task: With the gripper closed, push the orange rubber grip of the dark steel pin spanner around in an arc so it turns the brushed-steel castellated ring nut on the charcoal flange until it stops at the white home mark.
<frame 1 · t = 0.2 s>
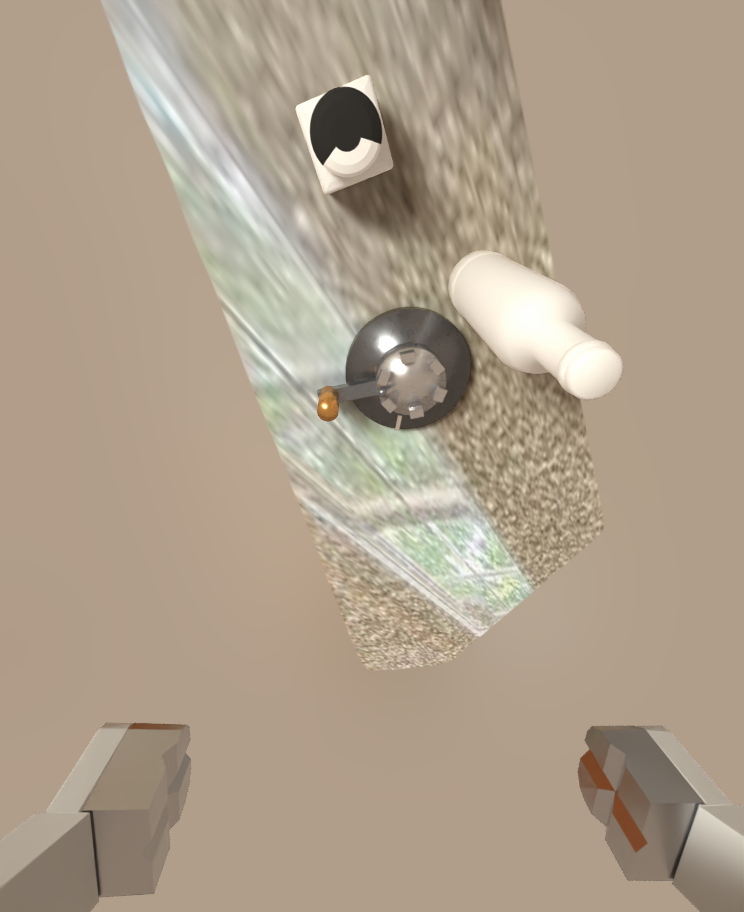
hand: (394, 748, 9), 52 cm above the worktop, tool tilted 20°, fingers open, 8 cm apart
medicine bottle: (346, 143, 45), on the worktop
bottle: (478, 283, 53), on the worktop
flange: (407, 369, 59), on the worktop
ring nut: (382, 390, 55), point 5 cm above the worktop, hinge at 0.0°
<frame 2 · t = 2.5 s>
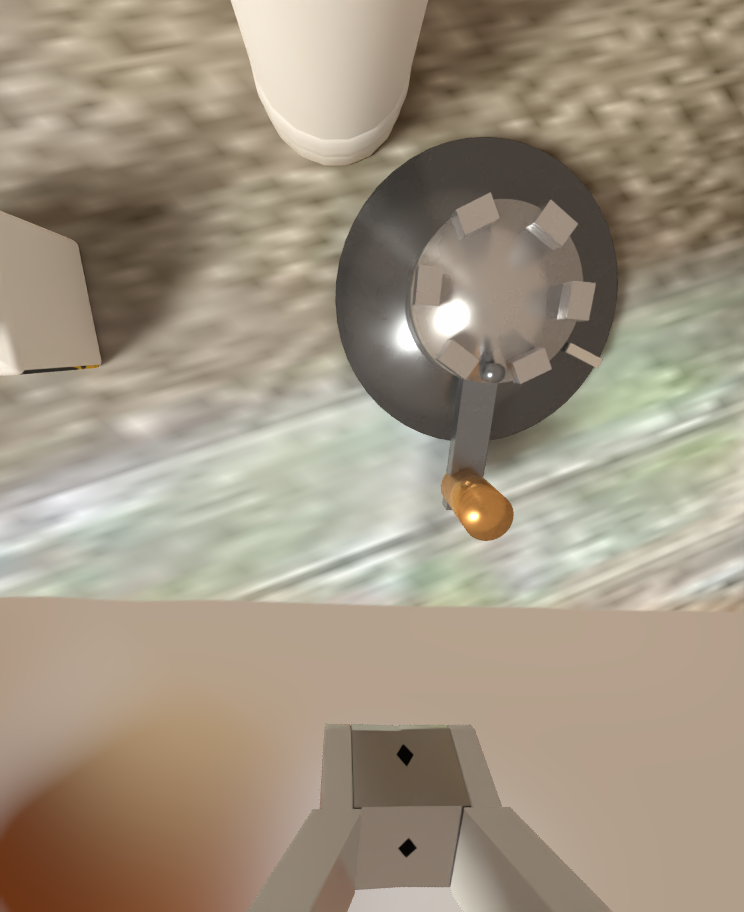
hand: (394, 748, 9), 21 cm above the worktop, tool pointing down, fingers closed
medicine bottle: (32, 308, 25), on the worktop
bottle: (332, 89, 24), on the worktop
flange: (471, 304, 27), on the worktop
ring nut: (488, 372, 23), point 5 cm above the worktop, hinge at 0.0°
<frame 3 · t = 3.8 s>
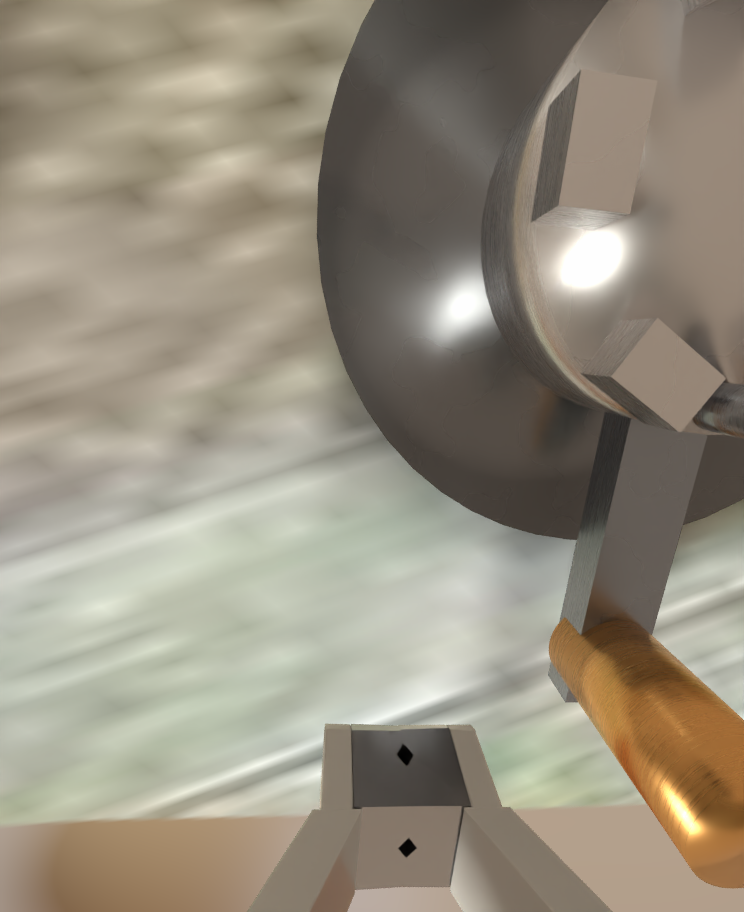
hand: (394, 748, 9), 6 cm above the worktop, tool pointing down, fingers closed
flange: (610, 251, 12), on the worktop
ring nut: (718, 407, 9), point 5 cm above the worktop, hinge at 0.0°
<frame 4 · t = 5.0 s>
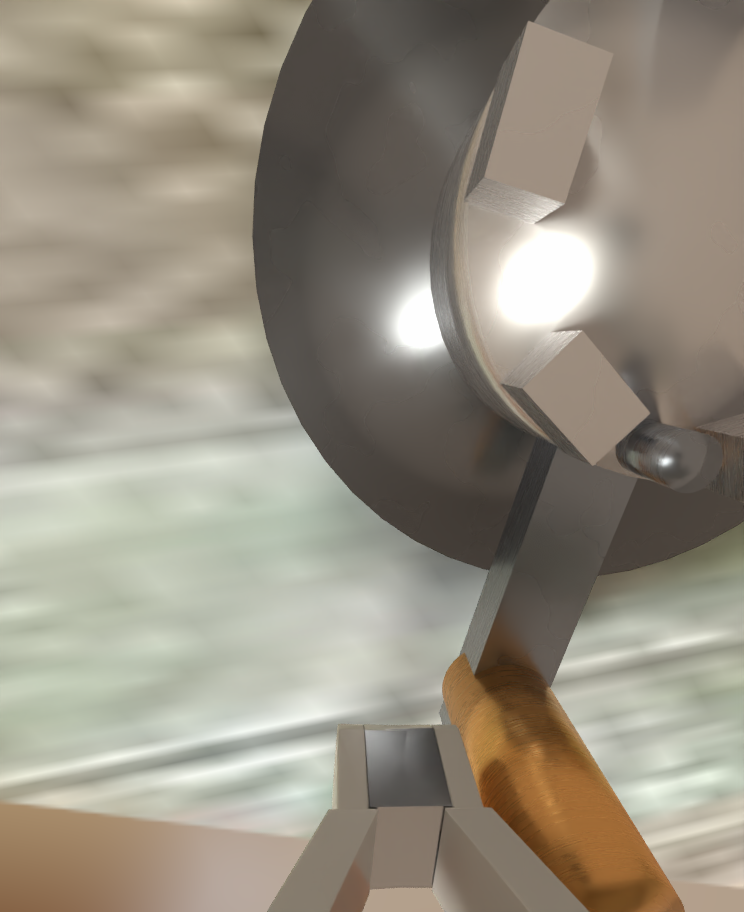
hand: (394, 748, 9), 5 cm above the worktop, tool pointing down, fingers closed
flange: (577, 273, 12), on the worktop
ring nut: (645, 447, 8), point 5 cm above the worktop, hinge at 0.9°, touching gripper
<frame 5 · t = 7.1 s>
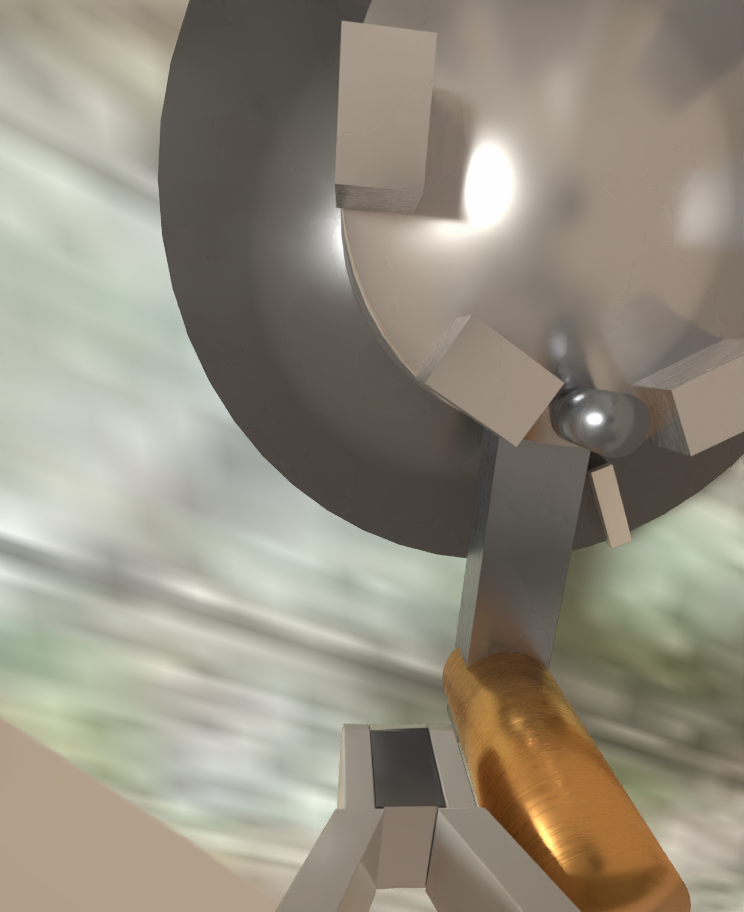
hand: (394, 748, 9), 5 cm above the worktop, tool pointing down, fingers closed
flange: (509, 244, 11), on the worktop
ring nut: (580, 415, 8), point 5 cm above the worktop, hinge at 44.6°, touching gripper
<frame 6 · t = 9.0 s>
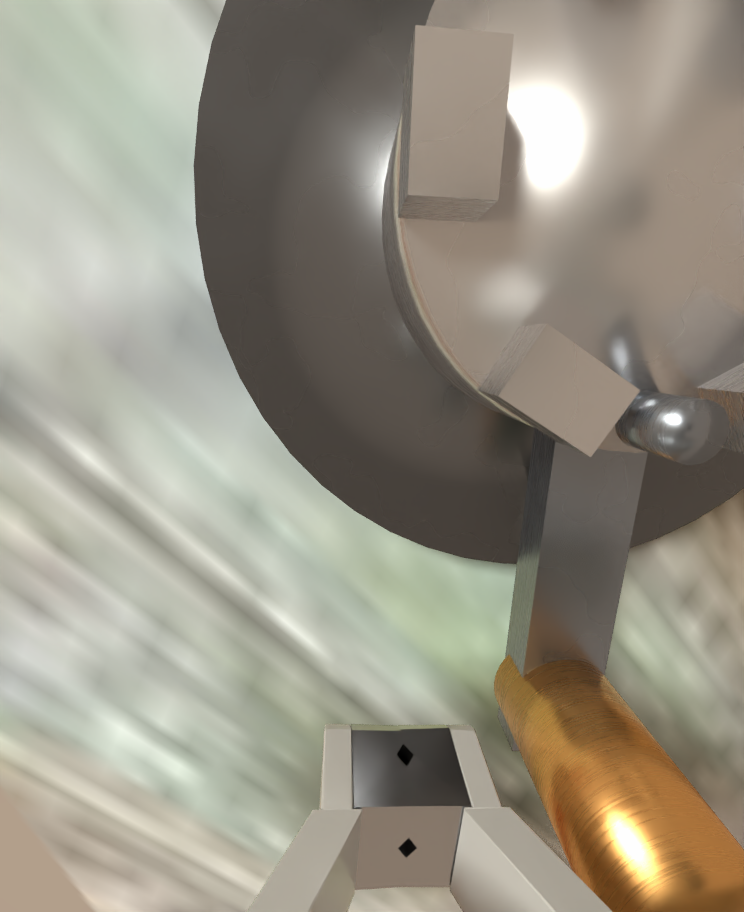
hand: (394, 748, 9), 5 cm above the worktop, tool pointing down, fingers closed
flange: (545, 243, 11), on the worktop
ring nut: (646, 420, 7), point 5 cm above the worktop, hinge at 70.2°
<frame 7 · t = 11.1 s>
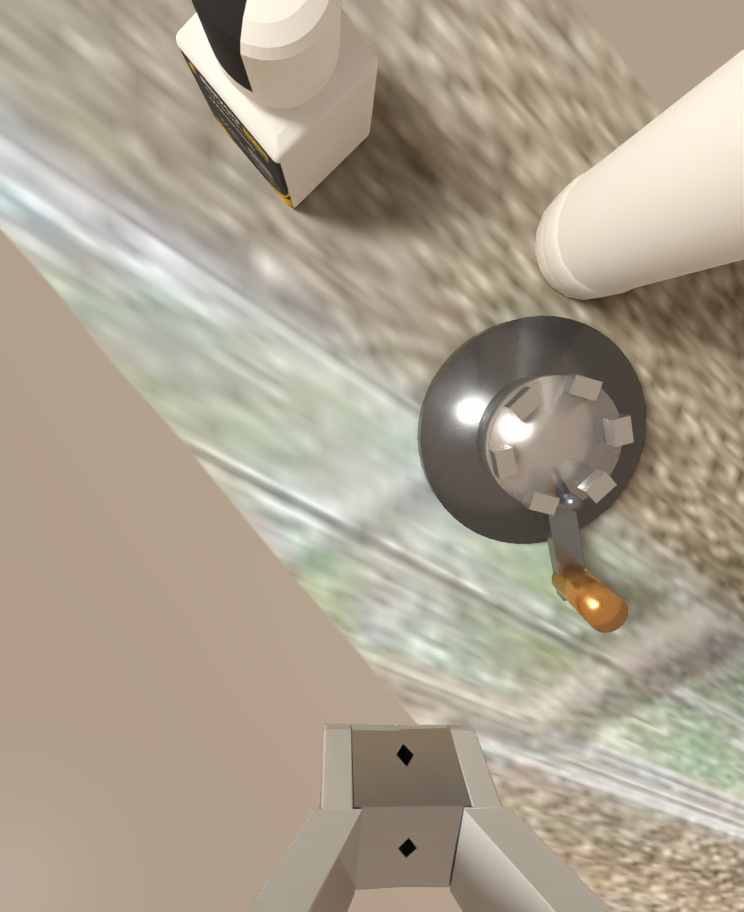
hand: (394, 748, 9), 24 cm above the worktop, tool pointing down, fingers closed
medicine bottle: (294, 128, 28), on the worktop
bottle: (585, 243, 30), on the worktop
flange: (526, 433, 33), on the worktop
ring nut: (566, 499, 29), point 5 cm above the worktop, hinge at 70.3°
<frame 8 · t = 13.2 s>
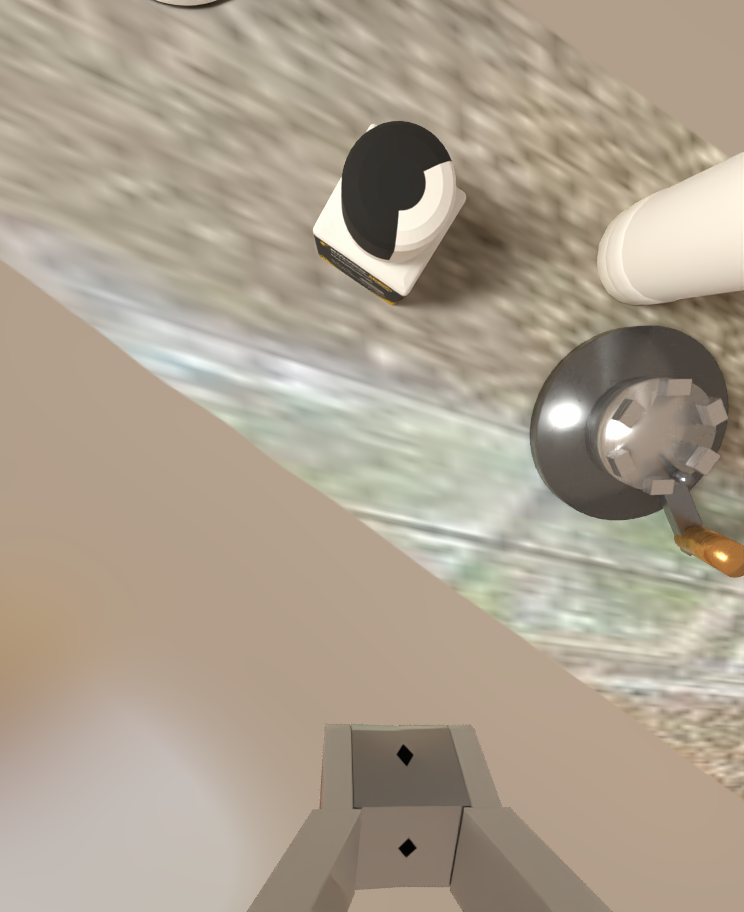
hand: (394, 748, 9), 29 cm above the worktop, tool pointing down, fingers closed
medicine bottle: (379, 241, 33), on the worktop
bottle: (639, 255, 35), on the worktop
flange: (622, 425, 38), on the worktop
ring nut: (678, 476, 34), point 5 cm above the worktop, hinge at 70.3°
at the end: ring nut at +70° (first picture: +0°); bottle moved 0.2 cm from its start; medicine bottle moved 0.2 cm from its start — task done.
